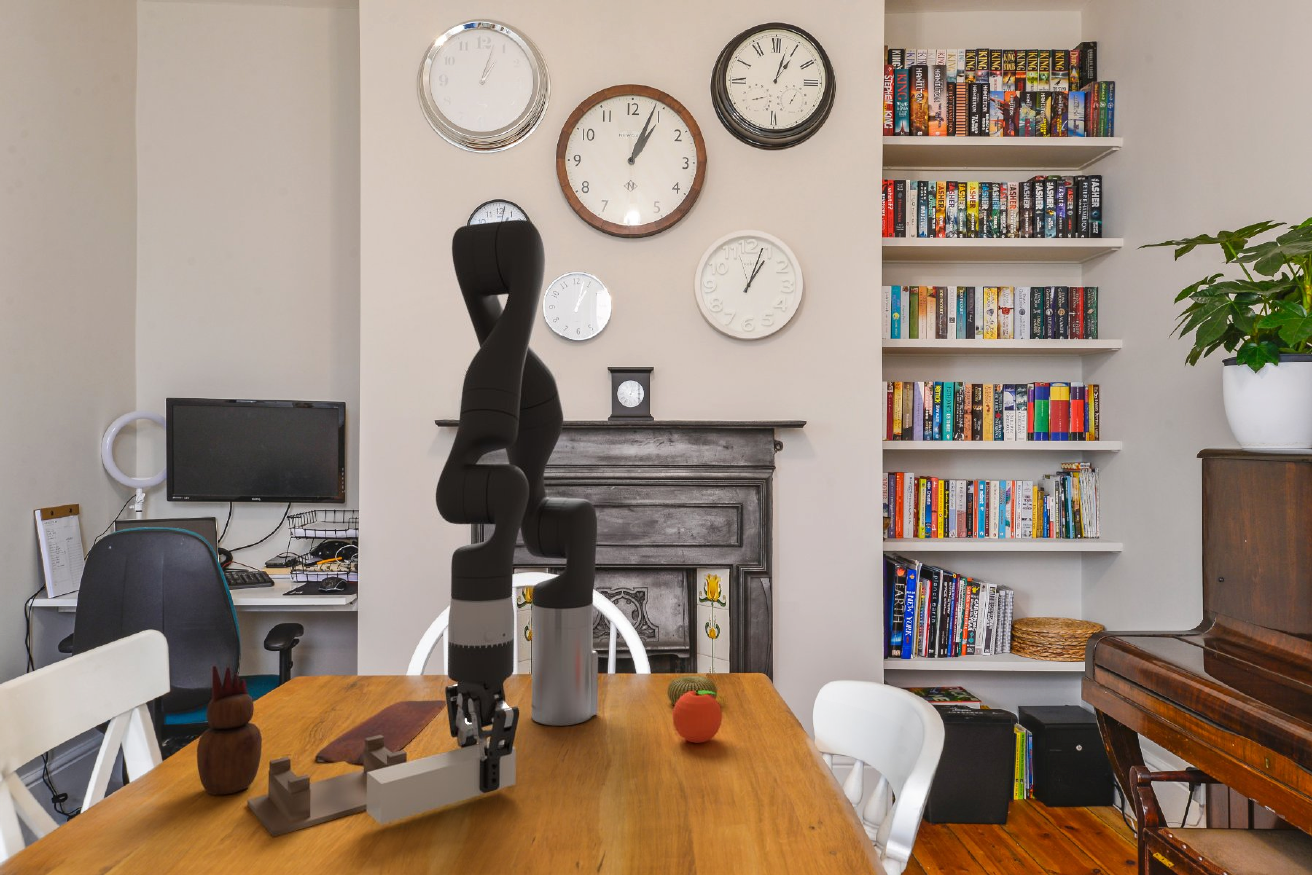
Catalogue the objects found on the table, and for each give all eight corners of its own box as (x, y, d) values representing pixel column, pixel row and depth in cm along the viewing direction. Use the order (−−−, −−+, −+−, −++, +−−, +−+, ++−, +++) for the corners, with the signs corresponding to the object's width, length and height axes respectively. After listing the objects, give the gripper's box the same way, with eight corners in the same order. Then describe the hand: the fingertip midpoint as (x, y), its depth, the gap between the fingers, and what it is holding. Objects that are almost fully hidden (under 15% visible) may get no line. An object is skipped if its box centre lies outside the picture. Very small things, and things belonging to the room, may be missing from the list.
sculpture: (723, 675, 130) (709, 688, 123) (723, 699, 130) (709, 715, 123) (676, 670, 133) (660, 683, 125) (676, 694, 133) (660, 709, 125)
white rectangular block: (498, 773, 96) (498, 738, 96) (515, 783, 93) (515, 747, 93) (366, 811, 85) (367, 772, 86) (380, 824, 82) (381, 783, 83)
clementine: (714, 728, 116) (714, 680, 116) (737, 745, 110) (737, 693, 110) (664, 736, 113) (664, 686, 113) (685, 753, 107) (685, 700, 107)
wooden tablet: (383, 770, 102) (383, 757, 102) (309, 767, 103) (309, 754, 103) (456, 704, 128) (456, 694, 128) (396, 702, 129) (396, 692, 129)
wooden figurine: (195, 804, 91) (197, 672, 91) (197, 785, 96) (199, 660, 96) (261, 792, 94) (263, 665, 94) (260, 775, 99) (262, 654, 99)
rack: (392, 766, 102) (392, 728, 102) (426, 791, 94) (426, 751, 94) (247, 804, 91) (247, 762, 91) (272, 836, 83) (273, 790, 83)
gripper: (541, 641, 90) (540, 795, 89) (480, 621, 100) (479, 758, 100) (482, 651, 85) (480, 814, 84) (424, 629, 96) (422, 773, 95)
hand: (479, 783), depth 92 cm, fingers closed on white rectangular block, 4 cm apart
